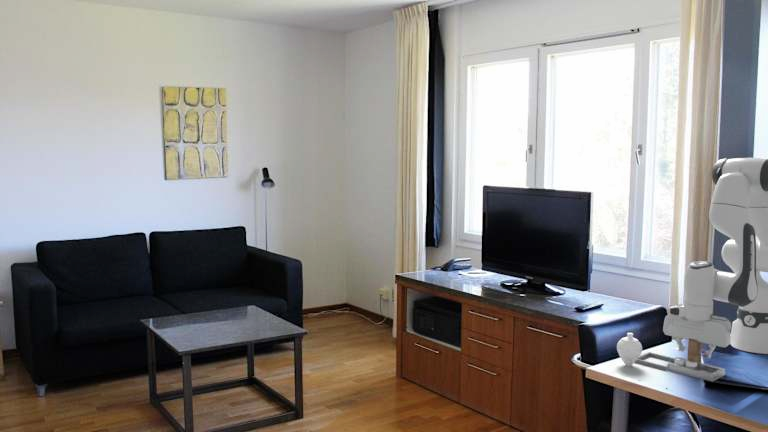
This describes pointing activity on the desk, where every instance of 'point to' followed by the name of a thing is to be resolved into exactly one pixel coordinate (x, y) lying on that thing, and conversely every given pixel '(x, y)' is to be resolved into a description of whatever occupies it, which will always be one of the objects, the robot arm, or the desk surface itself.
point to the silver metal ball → (691, 364)
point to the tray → (653, 363)
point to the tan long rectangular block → (694, 350)
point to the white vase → (629, 349)
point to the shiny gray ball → (679, 361)
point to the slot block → (699, 371)
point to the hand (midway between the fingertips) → (694, 354)
